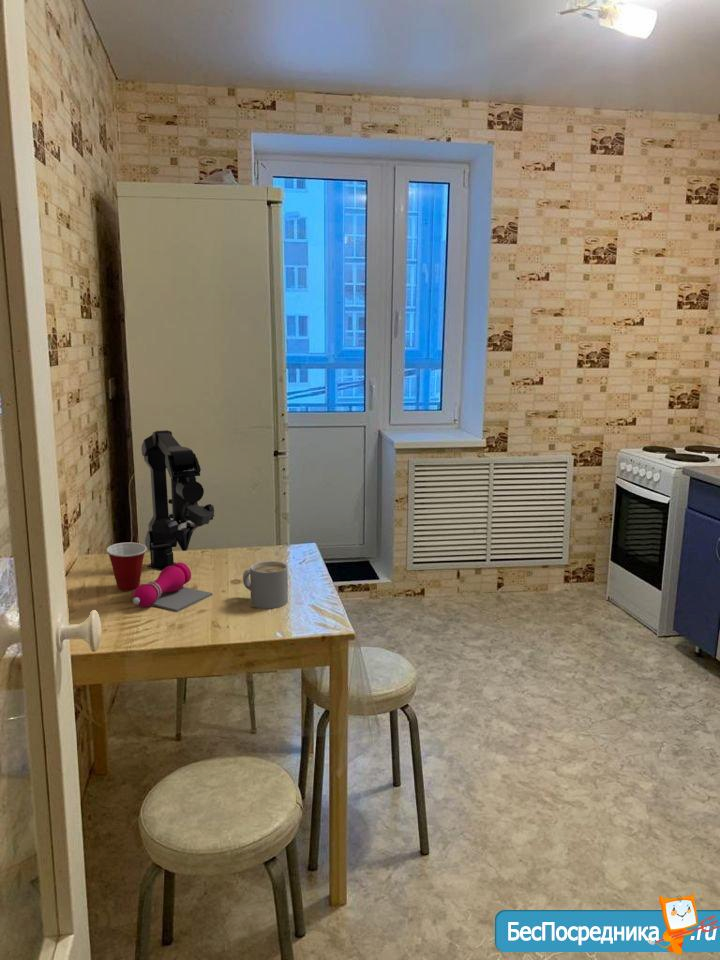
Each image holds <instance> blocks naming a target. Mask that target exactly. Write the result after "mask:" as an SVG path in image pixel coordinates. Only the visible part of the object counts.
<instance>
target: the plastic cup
mask: <svg viewBox="0 0 720 960" xmlns="http://www.w3.org/2000/svg"><path fill="white" fill-rule="evenodd" d="M147 550H148V549H147V547H146V545H145V544H143V543H139V542H133V541H132V542H131V541H130V542H119V543H113V544H112V545H109V546H108V547H107V548H106V553H107V555H108V556H109V560H110V562H111V566H112V567H111V568H112V572H113V574H114V575H113V576H114V579H115V582H116V587H117V589H118V590H119V591H122V592H129V591H130V592H131V591H135V589H136V588H137V587H138V586H140V585H141V577H142V570H143V562H144V557H145V553H146V551H147Z"/></svg>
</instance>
